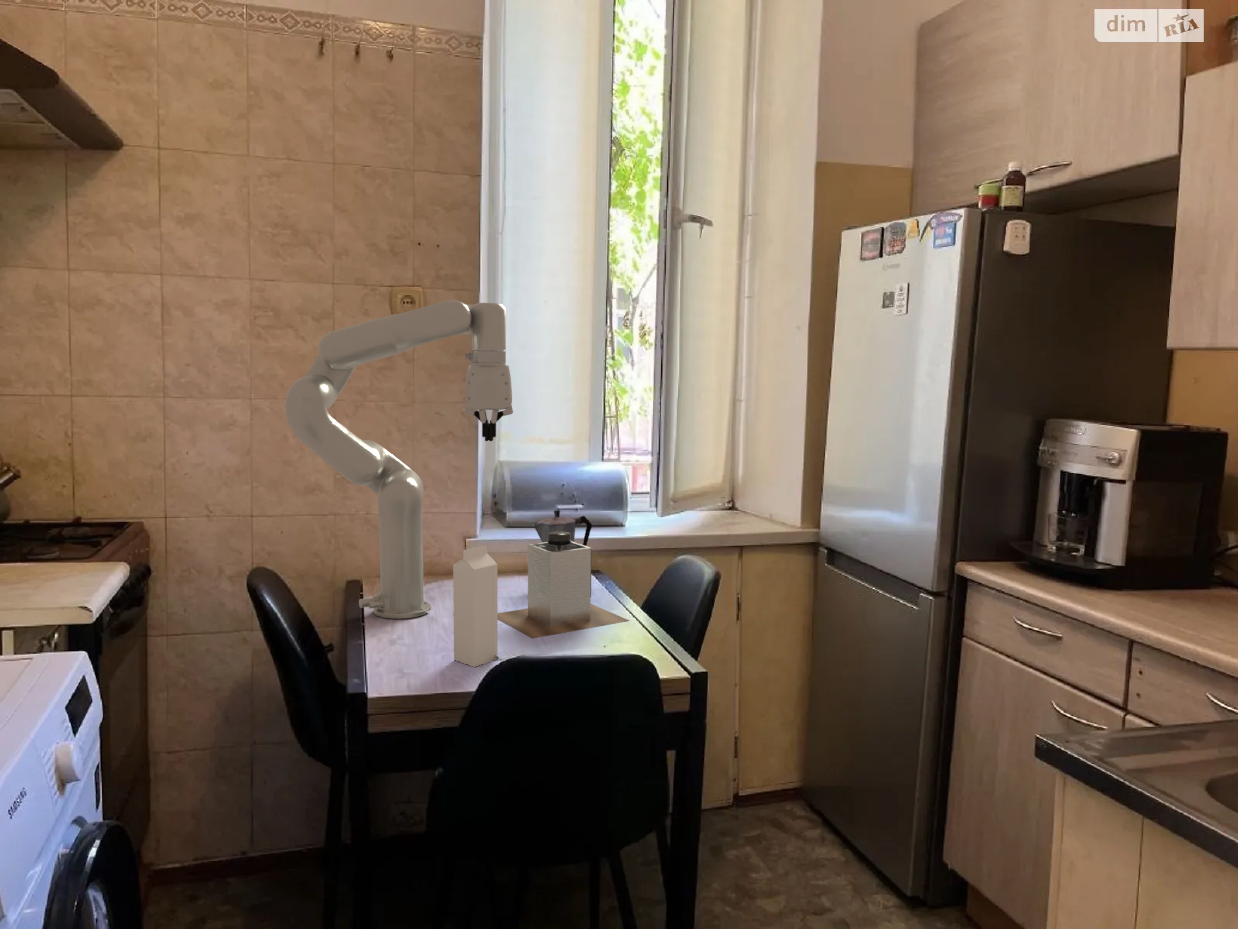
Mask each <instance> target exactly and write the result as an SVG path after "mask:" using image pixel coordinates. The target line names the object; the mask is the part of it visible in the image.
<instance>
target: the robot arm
mask: <svg viewBox="0 0 1238 929" xmlns="http://www.w3.org/2000/svg"><path fill="white" fill-rule="evenodd" d="M506 311H507V310H506V307H505V306H504V305H503V304H501V303H498V302H478V303H475V304H471V303H470V304H468V303H464V302H462V301H460V300H457V299H448V300H444V301H442V302H438V303H434V304H431V305H427V306H424V307H419V308H416V309H413V310H408V311H404V312H401V313H396V314H390V315H386V316H382V317H379V318H376V319H373V320H368V321H365V322H361V323H357V324H354V325H350V326H346V327H343V328H339V329H336V330H331V331H329V332H327V333H326V334H324V335H323V336H322V337H321V338H320V339H319V342H318V346H317V347H318V348H317V349H318V351H317V352H318V355H316V358H315V360H314V361H313V363H312V364H311V366H310V368H309V370H308V371H307V373H306V374H305V375H304V376H302V377H300V378H299V377H298V379H296V380H295V381H294V382H293V383H292V384H291V385H290V387H289V389H288V391H287V395H286V398H285V404H284V405H285V406H284V410H285V412H284V413H285V417H286V421H287V424H288V426H289V428H290V430H291V432H292V433H293V435H294V436H295V437H296V438H297V439H298V440H299V442H301V443H302V444H303V445H305V446H306V447H307V448H308V449H310V450H311V451H312V452H313V453H314V454H315V455H316V456H318V457H319V458H321V459H322V460H323V461H324V462H325V463H326V464H328V465H329V467H332V468H333V469H334V470H336V472H339V474H340V475H342V476H343V477H344V478H345V479H346V480H348V482H351V483H352V484H353V485H357V486H366V487H367V488H368V489H370V490H371V491H372V492H374V493H375V494H376V495H377V513H378V533H379V534H378V537H379V538H378V539H379V543H378V544H379V569H380V570H379V574H380V578H379V580H380V581H379V583H380V591H376V592H375V593H376V595H373V596H372V598H371V597H370V598H360V599H359V600H358V606H359V608H361V609H363V608H368V609H373V614H374V615H375V616H377V617H379V616H380V618H384V619H394V620H395V619H396V620H397V619H398V620H399V619H411V618H418V617H422V616H424V615H427V614H428V612H429V611H431V608H432V607H431V604H430V602H427V601H425V600H424V542H423V538H424V537H423V496H424V484H423V480H422V479H421V478H420V476H419V475H418V474H417V473H416V472H415V471H414V470H412V469H411V467H409V466H407V465H406V464H405V463H403V462H402V461H401V460H400V459H399V458H397V457H396V456H395V455H394V454H392V453H391V452H390V451H388V449H386V448H385V447H383V446H382V445H381V444H379V443H377V442H375V441H373V440H369V439H361V438H360V437H358V436H357V435H356V434H354V433H353V432H351V431H350V430H349V429H348V428H347V427H345V426H344V425H343V424H342V423H340V422H339V421H337V420H336V419H335V418H334V417H332V416H331V415H330V413H329V412H328V410H329V409H330V408H332V406H333V405H334V404H335V402H336V401H337V399H338V397H339V396H340V394H341V392H342V391H343V389H344V388H345V386H346V384H347V383H348V381H349V379H350V378H351V376H352V374H353V373H354V371H355V369H356V368H357V366H359V365H363V364H367V363H371V362H375V361H378V360H382V359H385V358H388V357H392V356H396V355H399V354H402V353H405V352H407V351H409V350H411V349H413V348H415V347H416V348H417V347H418V346H421V345H425V344H428V343H432V342H435V341H439V340H443V339H446V338H450V337H458V336H464V335H465V336H466V335H471V352H468V353H464V354H465V356H464V358H465V360H468V361H470V362H471V364H469V365H468V366H467V370H466V378H465V380H466V381H465V398H464V399H465V401H464V402H465V408H464V409H465V410H464V413H465V414H466V415H470V416H475V417H476V419H477V420H478V421H479V422H480V423H481V432H482V433H481V437H482V438H484V441H485V442H488V441H489V442H493V441H494V438H496V437H497V423H498V421H500V419H501V418H503V417H505V416H509V415H512V414H513V413H514V411H513V407H512V404H513V392H512V391H513V390H512V377H511V370H510V366H509V365H508V364H506V363H507V360H506V358H507V349H506V348H507V347H506V344H507V343H506V342H507V341H506V340H507V339H506V338H507V336H506V334H507V332H506V331H507V330H506V326H507V325H506V324H507V322H506V321H507V319H506V316H507V314H506V313H507V312H506ZM488 410H489V411H491V410H492V411H491V412H492V413H491V419H490V420H489V419H488V416H487V411H488Z"/></svg>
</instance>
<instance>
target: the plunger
mask: <svg viewBox="0 0 1238 929" xmlns="http://www.w3.org/2000/svg"><path fill="white" fill-rule="evenodd" d="M570 543H571V533H569V532H550V533H548V544H551V545H557V551H562V545H567V544H570Z"/></svg>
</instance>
